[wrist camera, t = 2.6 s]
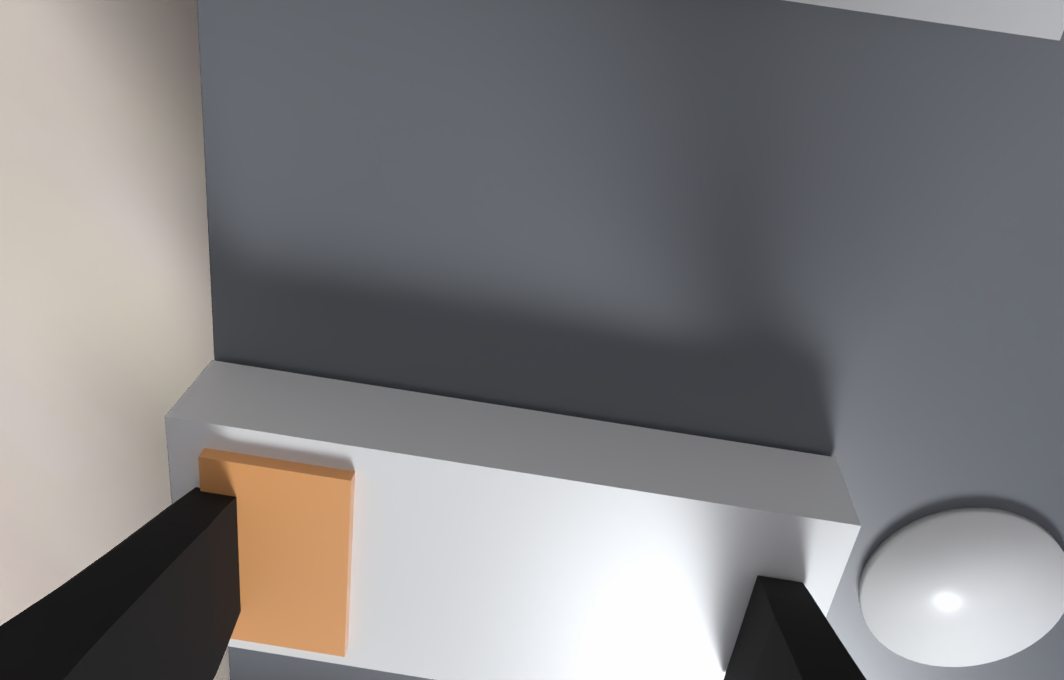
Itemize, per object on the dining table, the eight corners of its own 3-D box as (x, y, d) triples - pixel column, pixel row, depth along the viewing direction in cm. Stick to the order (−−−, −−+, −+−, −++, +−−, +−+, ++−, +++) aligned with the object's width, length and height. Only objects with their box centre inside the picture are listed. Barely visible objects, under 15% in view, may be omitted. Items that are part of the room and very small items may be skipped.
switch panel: (1556, -542, 10) (1944, -713, 7) (826, 926, 23) (855, 1074, 20) (277, -711, 10) (141, -943, 7) (287, 836, 23) (240, 971, 20)
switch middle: (835, 457, 13) (864, 536, 11) (765, 656, 15) (782, 747, 13) (211, 359, 13) (157, 425, 11) (222, 569, 15) (177, 649, 13)
